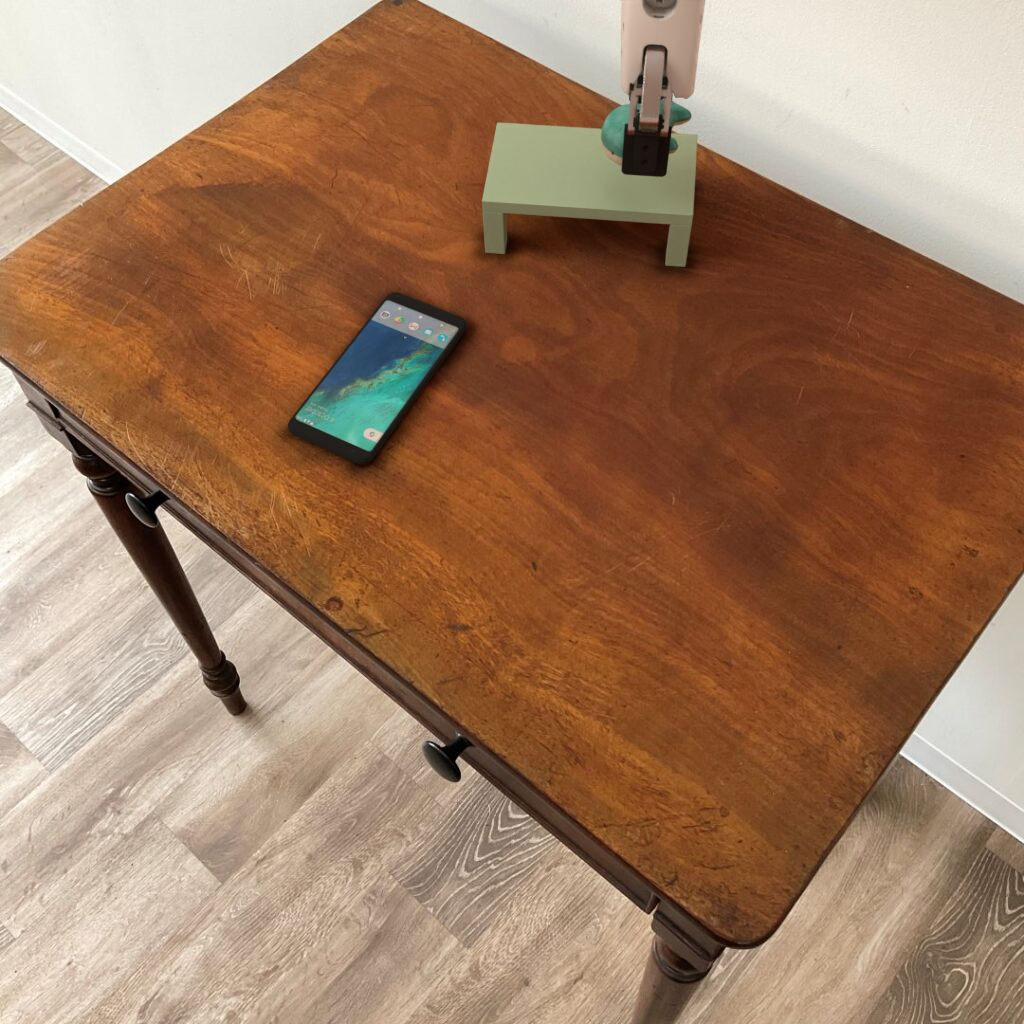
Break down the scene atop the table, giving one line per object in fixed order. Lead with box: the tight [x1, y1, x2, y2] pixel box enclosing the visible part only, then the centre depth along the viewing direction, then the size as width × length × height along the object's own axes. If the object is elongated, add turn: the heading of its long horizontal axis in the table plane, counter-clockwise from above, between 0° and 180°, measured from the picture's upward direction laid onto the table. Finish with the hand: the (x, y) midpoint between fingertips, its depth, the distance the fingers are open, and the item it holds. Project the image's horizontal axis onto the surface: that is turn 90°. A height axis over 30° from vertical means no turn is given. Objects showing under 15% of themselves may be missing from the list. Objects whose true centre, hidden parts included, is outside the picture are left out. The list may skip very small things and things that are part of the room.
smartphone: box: [287, 291, 468, 465], centre depth 82 cm, size 7×1×15 cm
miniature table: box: [481, 122, 699, 268], centre depth 88 cm, size 16×9×6 cm, turn 83°
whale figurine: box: [601, 98, 693, 166], centre depth 80 cm, size 6×7×4 cm
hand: (647, 135), depth 81 cm, fingers closed on whale figurine, 7 cm apart
